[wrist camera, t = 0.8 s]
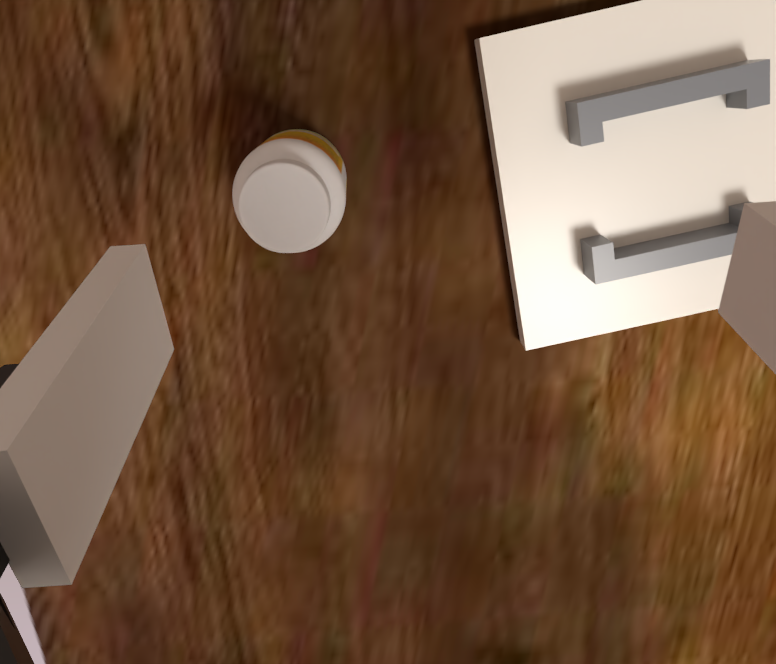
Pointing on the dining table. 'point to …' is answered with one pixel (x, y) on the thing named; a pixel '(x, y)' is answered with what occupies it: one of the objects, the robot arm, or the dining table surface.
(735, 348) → the dining table surface
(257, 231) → the supplement bottle
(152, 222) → the dining table surface
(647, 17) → the bottle holder
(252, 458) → the dining table surface
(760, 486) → the dining table surface
